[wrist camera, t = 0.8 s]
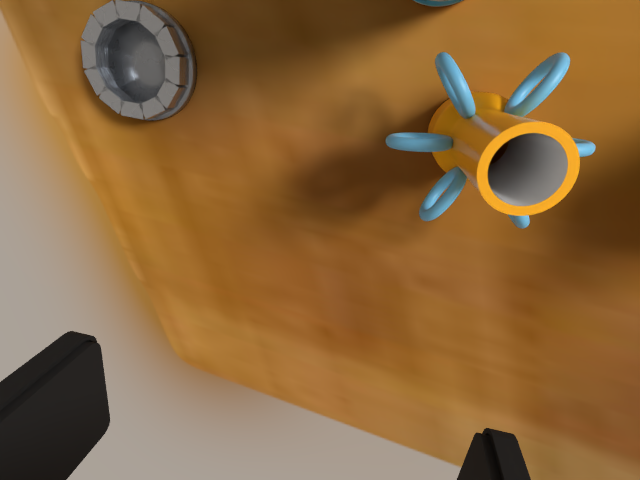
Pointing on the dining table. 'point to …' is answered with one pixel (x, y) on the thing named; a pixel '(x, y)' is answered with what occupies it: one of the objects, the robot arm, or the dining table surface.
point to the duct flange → (139, 60)
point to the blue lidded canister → (437, 2)
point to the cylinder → (498, 145)
